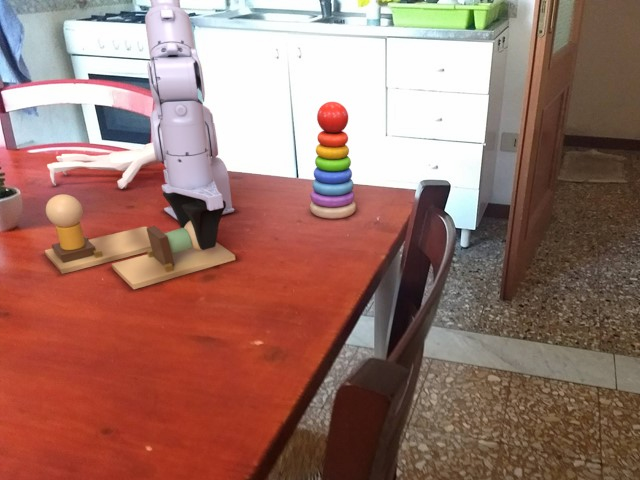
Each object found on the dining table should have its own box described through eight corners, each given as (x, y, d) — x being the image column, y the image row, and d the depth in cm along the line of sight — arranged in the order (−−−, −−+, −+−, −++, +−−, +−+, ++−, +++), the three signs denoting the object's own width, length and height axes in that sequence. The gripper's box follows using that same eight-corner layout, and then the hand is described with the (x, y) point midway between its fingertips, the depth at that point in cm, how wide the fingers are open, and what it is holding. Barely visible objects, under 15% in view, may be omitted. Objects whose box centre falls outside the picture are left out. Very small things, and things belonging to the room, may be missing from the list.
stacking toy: (345, 223, 106) (343, 109, 97) (302, 216, 108) (296, 104, 99) (362, 207, 113) (362, 100, 104) (321, 201, 115) (317, 95, 106)
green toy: (209, 238, 96) (204, 210, 94) (224, 248, 93) (218, 219, 91) (153, 257, 91) (146, 228, 89) (166, 268, 88) (159, 238, 86)
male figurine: (52, 202, 117) (188, 178, 118) (38, 170, 114) (178, 146, 115) (74, 178, 129) (197, 157, 130) (62, 149, 126) (188, 128, 127)
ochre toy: (72, 187, 90) (37, 194, 88) (83, 196, 87) (47, 203, 85) (86, 243, 95) (53, 251, 92) (96, 254, 92) (63, 262, 89)
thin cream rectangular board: (211, 242, 98) (209, 232, 97) (235, 259, 93) (234, 249, 92) (112, 268, 90) (110, 257, 89) (133, 289, 84) (131, 278, 84)
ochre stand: (146, 230, 102) (144, 220, 101) (166, 246, 96) (165, 236, 96) (45, 254, 93) (42, 244, 92) (62, 274, 88) (59, 263, 87)
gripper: (137, 143, 88) (153, 232, 95) (181, 168, 79) (196, 266, 86) (185, 135, 92) (197, 221, 99) (232, 159, 83) (243, 252, 90)
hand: (200, 241), depth 93 cm, fingers closed on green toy, 4 cm apart
